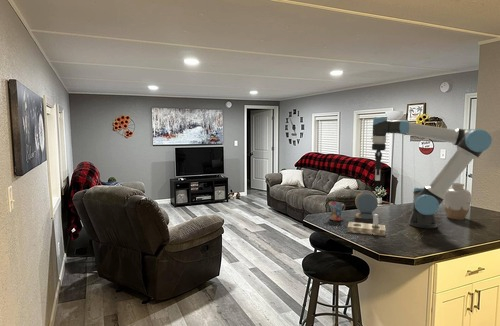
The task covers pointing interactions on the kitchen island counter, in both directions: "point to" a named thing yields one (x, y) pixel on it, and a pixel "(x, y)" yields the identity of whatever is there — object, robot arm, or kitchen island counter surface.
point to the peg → (375, 220)
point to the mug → (336, 211)
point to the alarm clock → (366, 204)
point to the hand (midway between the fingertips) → (377, 179)
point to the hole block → (366, 228)
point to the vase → (457, 202)
